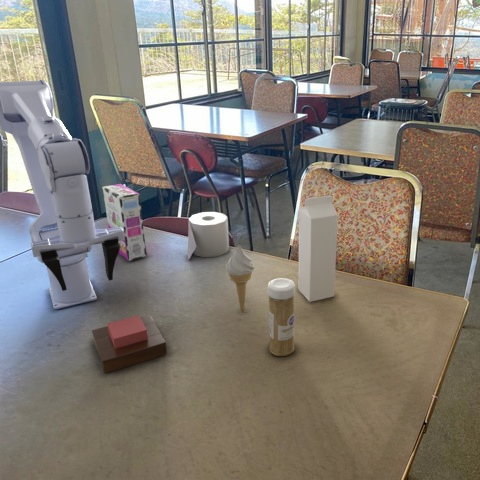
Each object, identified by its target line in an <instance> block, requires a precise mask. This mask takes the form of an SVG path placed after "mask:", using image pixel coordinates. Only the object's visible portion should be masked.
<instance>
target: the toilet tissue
mask: <svg viewBox="0 0 480 480" xmlns="http://www.w3.org/2000/svg"><path fill="white" fill-rule="evenodd" d="M228 217H229V216H227V215H226V214H224V213H223V212H216V211H202V212H198V213H195V214H192V215H191V216H190V217H189V218H188V226H187V227H188V229H187V230H188V231H187V259H188V261H189V260H190V259H191V257H192V255H194V256H198V257H202V258H213V257H214V258H215V257H219V256H222V255H224V254H227V252H228V251H229V249H230V238H229V237H230V236H229V220H228V219H229V218H228Z"/></svg>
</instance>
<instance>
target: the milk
mask: <svg viewBox="0 0 480 480" xmlns="http://www.w3.org/2000/svg"><path fill="white" fill-rule="evenodd" d="M332 200H333V196H332V195H323V196H317V197H308V198H305V200H304V206H302V207H301V208H299V209H298V275H297V276H298V279H297V280H298V281H297V282H298V285H297V287H298V291H299V292H300V293H301V294H302V295H303V296H304V298H305V299H306V300H307V301H308V302H309V303H311V302H317V301H321V300H324V299H329V298H333V297H335V289H336V266H337V246H338V245H337V244H338V241H337V240H338V222H339V221H338V220H339V214H338V212H337V210H336V208H335V206H334V204H333V201H332Z"/></svg>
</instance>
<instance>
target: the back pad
mask: <svg viewBox="0 0 480 480" xmlns="http://www.w3.org/2000/svg"><path fill="white" fill-rule="evenodd" d="M140 317H141V316H140V314H138V315H134V316H131V317H130V316H129V317H127V318H123V319H118V320H115V321H112V322H108V323H106V324H107V325H106V326H108V331H109V334H110V337H111V339H112V342H113V344H114V347H115V349H116V348H120V347H123V346H127V345H130V344H134V343H137V342H140V341H144V340H147V339H148V336H147V329H146V328H145V326H144V324H143V322H142V320H141V318H140Z"/></svg>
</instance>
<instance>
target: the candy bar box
mask: <svg viewBox="0 0 480 480" xmlns="http://www.w3.org/2000/svg"><path fill="white" fill-rule="evenodd" d="M101 188H102V193H103V194H102V195H103V201H104V207H105V213H106V220H107V227H108V229H110V228H119V227H121V228H122V229H123V231H124V238H125V240H124V241H118V242H119V244H120V251H119V253H118V255H120V256H122V257H123V258H124V259H125V260H126V261H127V262H132V261H135V260H140V259H143V258H146V257H148V254H147V247H146V239H145V229H144V222H143V212H142V204H141V196H140V193H139V192H137V191H134V190H132V189H131V188H129V187H127V186H126V185H124V184H122V183H117V184H116V183H115V184H112V185H105V186H102V187H101Z"/></svg>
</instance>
